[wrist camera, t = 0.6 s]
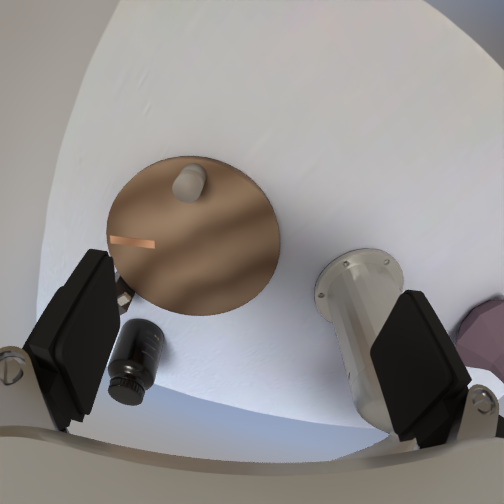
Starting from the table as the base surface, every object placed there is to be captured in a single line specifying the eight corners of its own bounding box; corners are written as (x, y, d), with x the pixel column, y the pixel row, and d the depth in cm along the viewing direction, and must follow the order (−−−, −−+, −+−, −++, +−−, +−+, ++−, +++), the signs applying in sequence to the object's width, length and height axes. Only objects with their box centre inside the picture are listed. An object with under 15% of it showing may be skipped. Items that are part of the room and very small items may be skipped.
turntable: (308, 262, 39) (316, 293, 34) (180, 325, 44) (173, 357, 39) (213, 119, 30) (206, 128, 25) (83, 218, 36) (60, 242, 31)
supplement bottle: (139, 351, 49) (121, 412, 39) (114, 323, 46) (89, 384, 35) (173, 342, 48) (159, 407, 37) (148, 312, 44) (127, 377, 34)
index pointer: (147, 277, 41) (135, 306, 36) (129, 288, 42) (116, 317, 37) (133, 261, 40) (118, 289, 35) (115, 272, 41) (99, 301, 36)
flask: (523, 281, 43) (580, 356, 26) (490, 345, 51) (530, 418, 34) (462, 287, 43) (525, 382, 26) (430, 357, 51) (467, 445, 34)
